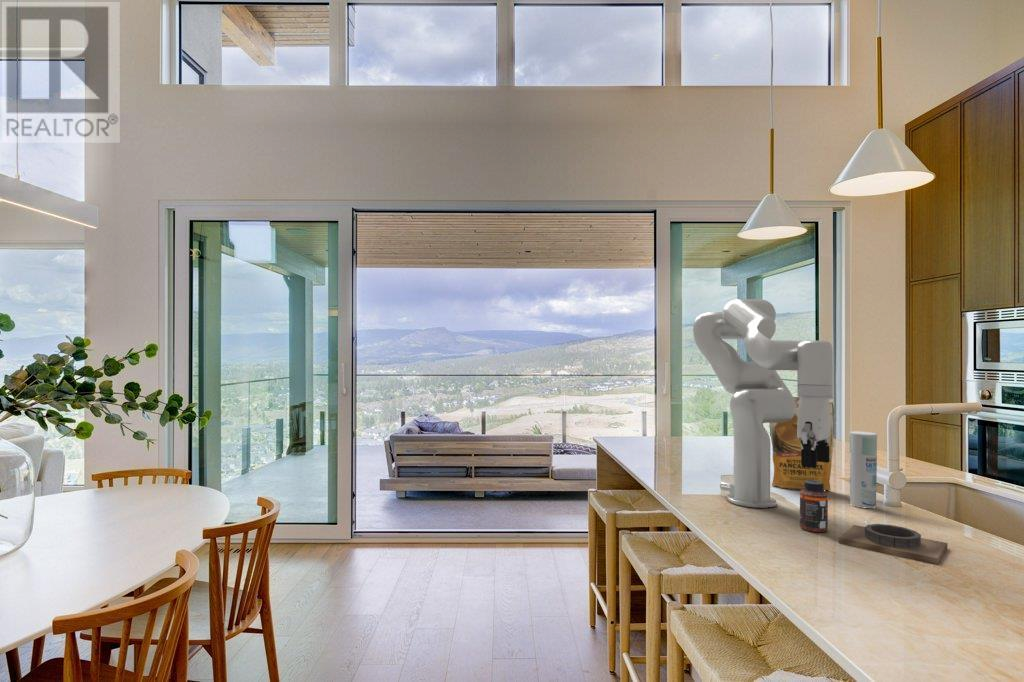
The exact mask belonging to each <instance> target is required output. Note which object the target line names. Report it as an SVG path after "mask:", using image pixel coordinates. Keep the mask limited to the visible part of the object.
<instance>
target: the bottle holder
mask: <svg viewBox="0 0 1024 682" xmlns="http://www.w3.org/2000/svg"><path fill="white" fill-rule="evenodd" d="M837 542H838V543H839V544H843V545H846V544H847V545H848V546H851V545H853V546H852V547H855V546H857V548H860V547H861V548H860V549H865V548H866V549H867V550H869V549H871V550H870V551H874V550H875V552H878V551H879V552H880V553H884V554H888V555H893V556H897V557H901V558H902V557H903V558H906V559H909V560H910V559H911V560H916V561H921V562H926V563H929V564H934V565H939V563H940V561H941V560H942V558H943V557H944V555H945V553H946V552H947V550H948V542H944V541H938V540H934V539H930V538H929V539H928V538H924V537H922V535H921V533H919V532H918V531H916V530H913V529H910V528H907V527H903V526H897V525H892V524H885V523H884V524H883V523H871V524H867V525H866V526H862V525H858V524H853V525H852V526H851V527H849V528H848V529H847V530H846V531H844V532H843V533H842V534H841V535H840V536H838V540H837Z"/></svg>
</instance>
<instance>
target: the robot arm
mask: <svg viewBox="0 0 1024 682" xmlns="http://www.w3.org/2000/svg"><path fill="white" fill-rule="evenodd" d="M776 313H777V312H776V309H775V306H774V305H773V304H772V303H771V302H769V301H768V300H766V299H760V298H759V299H757V298H756V299H751V298H750V299H749V298H736V299H732V300H730V301H729V302H727V303H726V304H725V305H724V306H723V309H722V311H707V312H704V313H701V314H699V315H698V316H697V317H696V318H695V320H694V322H693V325H692V326H693V327H692V329H693V330H692V332H693V339H694V342H695V345H696V346H697V348H698V350H699V352H700V353H701V354H702V355H703V356H704V358H705V359H706V360H707V361H708V363H709V364H710V366H711V368H712V371H714V374H715V375H716V377H717V379H718V381H719V383H721V386H722V387H723V389H724V390H725V391H726V392H727V393H730V394H732V395H731V397H730V401H729V407H730V414H731V419H732V428H733V482H731V483H728V482H723V481H721V482H720V484H719V489H720V490H721V491H726V492H728V493H729V494H728V495H727V501H728V502H730V503H731V504H734V505H737V506H741V507H747V508H755V509H767V508H768V507H769V508H774V507H776V506H777V500H776V498H774V497H772V496H771V436H770V435H769V432H768V431H767V429H766V428H765V426H764V424H770V423H778V422H786V421H789V420H791V419H792V418H793V417H794V415H795V412H796V404H795V400H794V398H793V397H794V396H793V394H792V393H791V390H789V388H788V386H787V385H786V383H785V382H784V380H783V379H782V377H781V376H780V375H779V373H778V372H777V371H792V372H793V371H796V373H797V377H796V379H797V383H796V384H797V397H798V398H800V400H799V407H798V422H797V438H798V439H799V440H801V443H802V444H801V465H802V466H803V467H810V468H816V467H817V462H826V463H828V462H829V439H828V438H829V437H830V405H829V402H830V400H833V399H834V377H833V375H834V369H833V368H834V366H833V365H834V364H833V363H834V362H833V344H832V343H831V342H829V341H827V340H789V339H787V340H782V339H781V340H778V339H776V340H773V339H772V338H773V337H774V335H775V333H776V329H777V326H776V323H775V321H776V317H777V315H776ZM725 340H744V344H745V345H744V346H745V347H744V348H745V350H746V354H747V355H748V357H750V359H751V360H753V361H747V360H744V359H743V358H742V357H741V356H740V355H739V353H738V351H737V350H736V349H735V348H734V347H733V346H732V345H731V344H729V343H727V342H726V341H725ZM811 442H812V444H811Z"/></svg>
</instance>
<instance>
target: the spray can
mask: <svg viewBox="0 0 1024 682" xmlns="http://www.w3.org/2000/svg"><path fill="white" fill-rule="evenodd" d="M877 454H878V433H876V432H871V431H859V430H858V431H855V430H853V431H852V430H851V431H850V432H849V504H852V505H855V506H859V507H866V508H874V507H876V508H877V479H878V478H877V471H878V468H877V466H878V455H877ZM852 505H851V506H852ZM874 509H875V508H874Z"/></svg>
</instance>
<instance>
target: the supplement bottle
mask: <svg viewBox="0 0 1024 682" xmlns="http://www.w3.org/2000/svg"><path fill="white" fill-rule="evenodd" d="M804 486H805V489H802V490H799V491H800V492H799V527H800V528H801V529H802V530H805V531H807V532H811V533H812V532H813V533H824V532H825V533H826V532H827V531H828V525H829V521H828V520H829V517H828V514H829V513H828V512H829V508H828V507H829V504H828V503H829V502H828V501H829V495H828V493H827V491H824V490H823V488H824V487H823V483H822V482H820V481H813V480H806V481H805V485H804Z"/></svg>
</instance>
